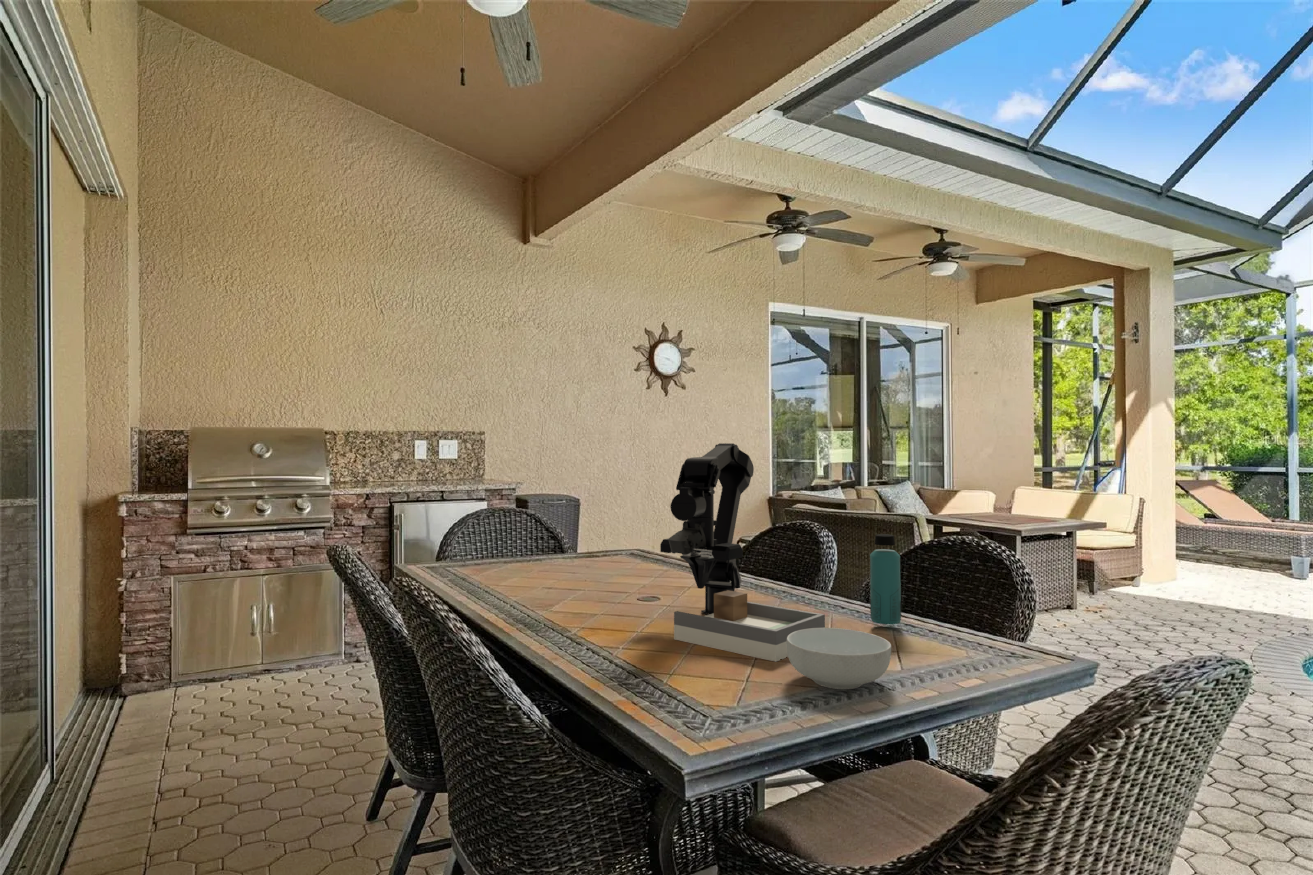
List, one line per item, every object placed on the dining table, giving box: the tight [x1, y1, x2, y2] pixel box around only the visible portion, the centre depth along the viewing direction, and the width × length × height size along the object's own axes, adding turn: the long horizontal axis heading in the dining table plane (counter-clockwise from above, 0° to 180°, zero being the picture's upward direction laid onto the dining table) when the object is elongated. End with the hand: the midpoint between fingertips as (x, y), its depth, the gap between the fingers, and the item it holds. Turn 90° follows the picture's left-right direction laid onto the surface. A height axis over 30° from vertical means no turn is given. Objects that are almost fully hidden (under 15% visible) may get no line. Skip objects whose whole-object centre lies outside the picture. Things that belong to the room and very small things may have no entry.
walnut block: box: [714, 590, 748, 621], centre depth 161 cm, size 5×5×5 cm
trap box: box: [673, 601, 826, 662], centre depth 153 cm, size 24×18×6 cm
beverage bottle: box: [869, 533, 903, 625], centre depth 164 cm, size 6×7×20 cm
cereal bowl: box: [786, 627, 892, 690], centre depth 127 cm, size 17×17×7 cm
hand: (700, 588), depth 166 cm, fingers closed
